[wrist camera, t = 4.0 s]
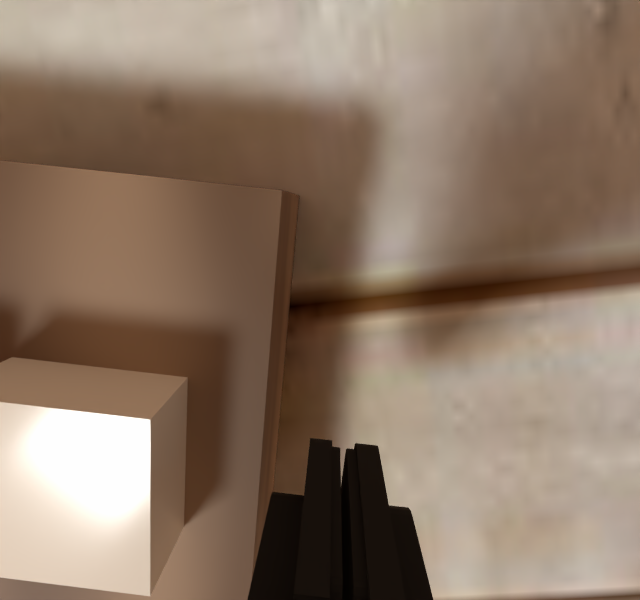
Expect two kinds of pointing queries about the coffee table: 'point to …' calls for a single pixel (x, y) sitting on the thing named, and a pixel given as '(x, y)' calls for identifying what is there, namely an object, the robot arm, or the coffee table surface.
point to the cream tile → (90, 474)
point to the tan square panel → (162, 334)
